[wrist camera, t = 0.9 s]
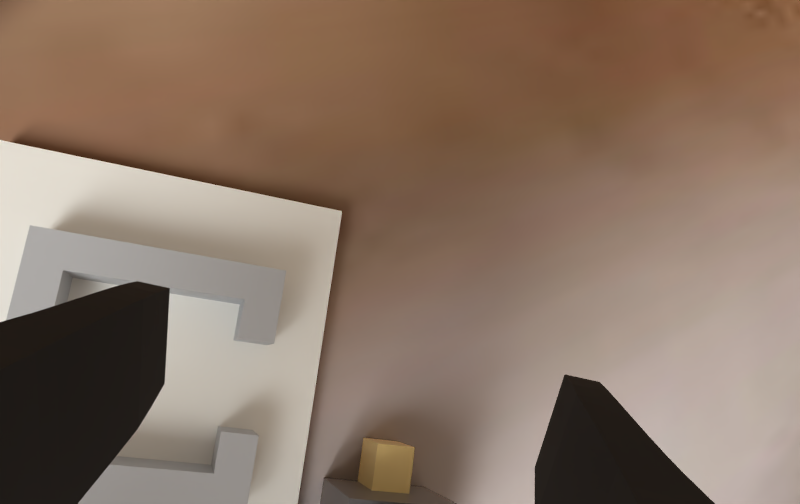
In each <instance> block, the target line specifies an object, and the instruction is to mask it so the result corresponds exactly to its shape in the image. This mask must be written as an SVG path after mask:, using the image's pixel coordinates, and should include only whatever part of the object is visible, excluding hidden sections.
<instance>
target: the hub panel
mask: <svg viewBox="0 0 800 504" xmlns="http://www.w3.org/2000/svg"><path fill="white" fill-rule="evenodd" d="M341 215H342V211H339V210H334V209H329V208H325V207H320V206H315V205H310V204H305V203H301V202H296V201H291V200H286V199H281V198H276V197H272V196H267V195H262V194H257V193H252V192H248V191H243V190H238V189H233V188H228V187H223V186H219V185H214V184H209V183H204V182H199V181H195V180H190V179H185V178H180V177H175V176H171V175H166V174H161V173H156V172H151V171H146V170H142V169H137V168H132V167H127V166H122V165H118V164H113V163H108V162H103V161H98V160H93V159H89V158H84V157H79V156H74V155H69V154H65V153H60V152H55V151H50V150H45V149H41V148H36V147H31V146H26V145H21V144H16V143H12V142H7V141H2V140H0V322H2V321H6V320H9V319H13V318H16V317H20V316H23V315H27V314H30V313H33V312H37V311H40V310H43V309H46V308H49V307H52V306H55V305H58V304H62V303H65V302H68V301H71V300H74V299H77V298H80V297H83V296H86V295H89V294H92V293H96V292H99V291H102V290H105V289H108V288H112V287H115V286H119V285H122V284H126V283H131V282H136V281H139V282H144V283H148V284H153V285H158V286H162V287H167V288H170V295H169V313H168V332H167V350H166V368H165V384H164V386H163V387H162V389H161V391H160V393H159V394H158V396H157V398H156V400H155V401H154V403H153V405H152V407H151V408H150V410H149V412H148V413H147V415H146V416H145V418H144V420H143V421H142V423H141V425H140V426H139V428H138V429H137V430H136V432H135V433H134V434H133V436H132V437H131V438H130V439H129V441H128V442H127V443H126V445H125V446H124V447H123V448H122V450H121V451H120V452H119V453H118V455H117V456H116V457H115V458H114V460H113V461H112V462H111V463H110V465H109V466H108V467H107V468H106V469H105V471H104V472H103V473H102V474H101V476H100V477H99V478H98V479H97V481H96V482H95V483H94V484H93V485H92V487H91V488H90V489H89V490H88V492H87V493H86V494H85V495H84V497H83V498H82V499H81V500H80V501H79V503H78V504H298V498H299V492H300V485H301V479H302V472H303V465H304V459H305V452H306V446H307V439H308V432H309V426H310V419H311V413H312V406H313V400H314V393H315V386H316V380H317V373H318V367H319V360H320V354H321V347H322V340H323V334H324V327H325V321H326V314H327V307H328V301H329V294H330V288H331V281H332V275H333V268H334V261H335V255H336V248H337V242H338V235H339V229H340V222H341Z"/></svg>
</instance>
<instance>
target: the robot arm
mask: <svg viewBox="0 0 800 504" xmlns="http://www.w3.org/2000/svg"><path fill="white" fill-rule="evenodd" d="M169 295H170V288H167V287H162V286H158V285H153V284H148V283H144V282H139V281H136V282H131V283H126V284H122V285H119V286H115V287H112V288H108V289H105V290H102V291H99V292H96V293H92V294H89V295H86V296H83V297H80V298H77V299H74V300H71V301H68V302H65V303H62V304H58V305H55V306H52V307H49V308H46V309H43V310H40V311H37V312H33V313H30V314H27V315H23V316H20V317H16V318H13V319H9V320H6V321H2V322H0V504H78V503H79V501H80V500H81V499H82V498H83V497H84V495H85V494H86V493H87V492H88V490H89V489H90V488H91V487H92V485H93V484H94V483H95V482H96V481H97V479H98V478H99V477H100V476H101V474H102V473H103V472H104V471H105V469H106V468H107V467H108V466H109V465H110V463H111V462H112V461H113V460H114V458H115V457H116V456H117V455H118V453H119V452H120V451H121V450H122V448H123V447H124V446H125V445H126V443H127V442H128V441H129V439H130V438H131V437H132V436H133V434H134V433H135V432H136V430H137V429H138V428H139V426H140V425H141V423H142V421H143V420H144V418H145V416H146V415H147V413H148V412H149V410H150V408H151V407H152V405H153V403H154V401H155V400H156V398H157V396H158V394H159V393H160V391H161V389H162V387H163V386H164V384H165V368H166V350H167V332H168V313H169ZM535 504H715V503H714V502H713V501H712V500H710V499H709V498H708V497H707V496H706V495H705V494H704V493H703V492H702V491H701V490H700V489H699V488H698V487H697V486H696V485H695V484H694V483H693V482H692V481H691V480H690V479H689V478H688V477H687V476H686V475H685V474H684V473H683V472H682V471H681V470H680V469H679V468H678V467H677V466H676V465H675V464H674V463H673V462H672V461H671V460H670V459H669V458H668V457H667V456H666V455H665V453H664V452H663V451H662V450H661V449H660V448H659V447H658V446H657V445H656V444H655V443H654V442H653V440H652V439H651V438H650V437H649V436H648V435H647V434H646V433H645V432H644V430H643V429H642V428H641V427H640V426H639V425H638V424H637V423H636V421H635V420H634V419H633V418H632V417H631V416H630V415H629V414H628V412H627V411H626V410H625V409H624V408H623V407H622V406H621V404H620V403H619V402H618V401H617V400H616V399H615V398H614V397H613V396H612V394H611V393H610V392H609V391H608V390H607V389H606V388H605V387H604V386H603V385H602V384H601V383H600V382H597V381H592V380H587V379H583V378H578V377H574V376H569V375H564V379H563V382H562V385H561V388H560V391H559V394H558V397H557V400H556V403H555V407H554V410H553V413H552V416H551V419H550V422H549V425H548V428H547V431H546V434H545V438H544V441H543V444H542V447H541V450H540V453H539V456H538V459H537V462H536V466H535Z"/></svg>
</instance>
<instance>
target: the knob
mask: <svg viewBox="0 0 800 504" xmlns="http://www.w3.org/2000/svg"><path fill="white" fill-rule="evenodd" d="M414 450H415V447H412V446H409V445H407V444H404V443H401V442H398V441H390V440H381V439H372V438H363V444H362V452H361V459H360V466H359V474H358V481H353V480H342V479H331V478H324V482H323V488H322V495H321V502H320V504H456V503H454V502H452V501H450V500H448V499H446V498H444V497H443V496H441V495H439V494H437V493H435V492H433V491H431V490H429V489H427V488H425V487H419V486H410V483H411V475H412V467H413V458H414Z"/></svg>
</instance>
